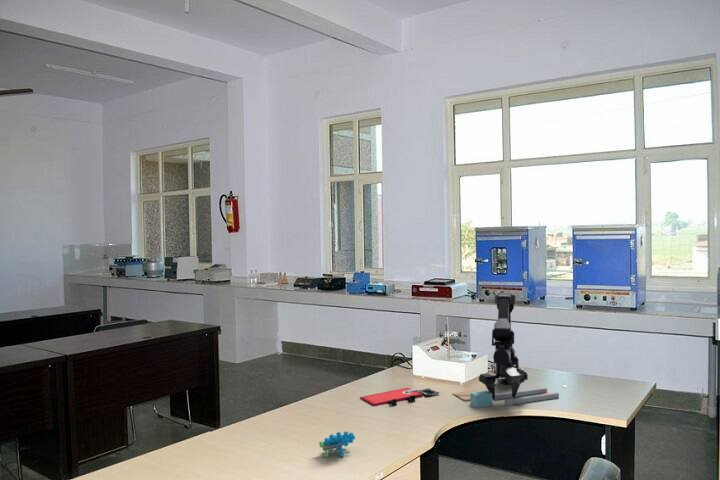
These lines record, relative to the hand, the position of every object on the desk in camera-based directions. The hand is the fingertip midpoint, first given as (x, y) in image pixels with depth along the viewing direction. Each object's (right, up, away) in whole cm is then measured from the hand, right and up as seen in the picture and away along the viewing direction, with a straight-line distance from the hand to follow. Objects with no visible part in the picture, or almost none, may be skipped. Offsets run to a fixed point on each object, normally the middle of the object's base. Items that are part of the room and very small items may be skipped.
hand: (503, 399), depth 212 cm
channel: (+10, -1, +3) cm, 10 cm away
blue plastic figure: (-63, -4, -45) cm, 77 cm away
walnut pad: (-12, -1, +8) cm, 14 cm away
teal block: (-9, -1, -3) cm, 10 cm away
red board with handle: (-39, -3, +8) cm, 40 cm away
